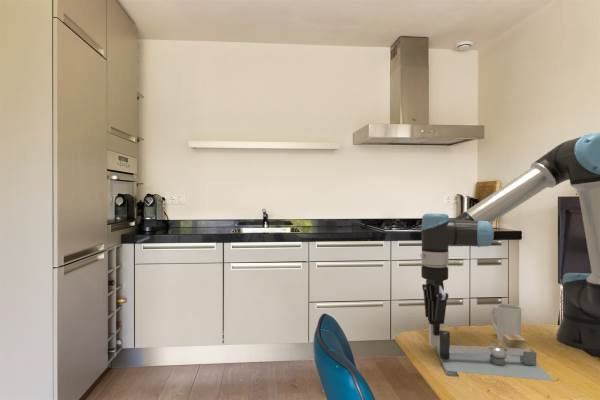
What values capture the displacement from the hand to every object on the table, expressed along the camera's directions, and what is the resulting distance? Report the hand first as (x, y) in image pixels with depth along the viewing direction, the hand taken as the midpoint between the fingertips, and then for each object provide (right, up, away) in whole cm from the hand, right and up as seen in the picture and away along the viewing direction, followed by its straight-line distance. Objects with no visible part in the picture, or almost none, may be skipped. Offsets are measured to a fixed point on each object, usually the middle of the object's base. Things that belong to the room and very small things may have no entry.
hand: (434, 344), depth 108 cm
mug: (+26, -3, +9) cm, 28 cm away
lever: (+11, -1, -9) cm, 14 cm away
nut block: (+23, -2, -2) cm, 23 cm away
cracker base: (+12, -3, -7) cm, 14 cm away
